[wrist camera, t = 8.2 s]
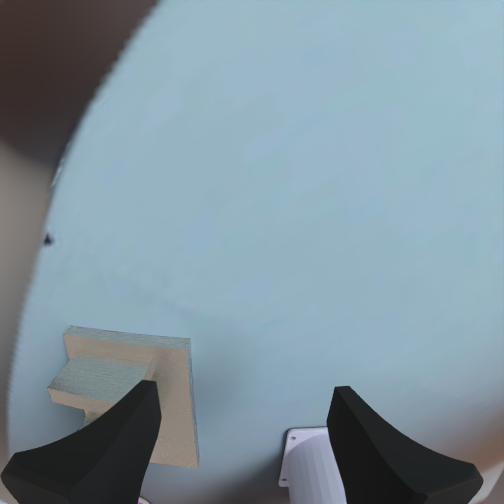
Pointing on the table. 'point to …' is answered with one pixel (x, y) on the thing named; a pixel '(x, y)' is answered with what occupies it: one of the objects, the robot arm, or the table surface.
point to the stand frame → (132, 383)
